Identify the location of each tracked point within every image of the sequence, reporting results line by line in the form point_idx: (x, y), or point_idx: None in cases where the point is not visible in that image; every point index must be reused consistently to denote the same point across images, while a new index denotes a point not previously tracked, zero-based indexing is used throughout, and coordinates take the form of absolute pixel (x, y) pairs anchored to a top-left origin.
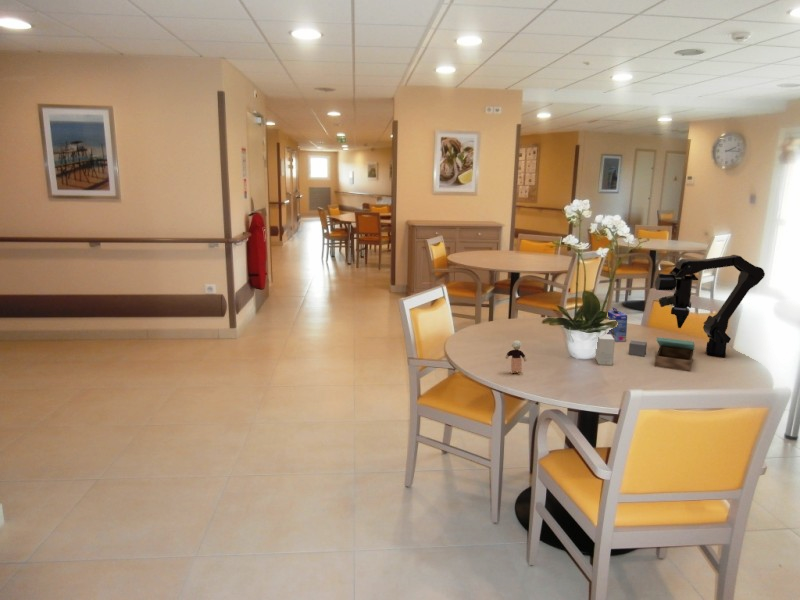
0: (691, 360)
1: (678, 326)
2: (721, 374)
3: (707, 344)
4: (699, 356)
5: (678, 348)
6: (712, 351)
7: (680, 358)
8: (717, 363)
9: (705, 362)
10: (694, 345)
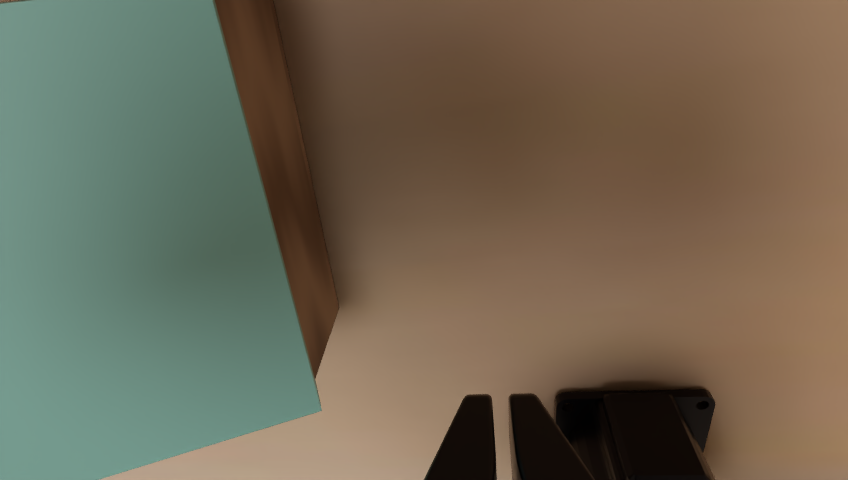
0: None
1: (450, 433)
2: None
3: (623, 469)
4: (490, 344)
5: None
6: (578, 451)
7: None
8: (360, 449)
9: (327, 389)
10: (126, 469)
